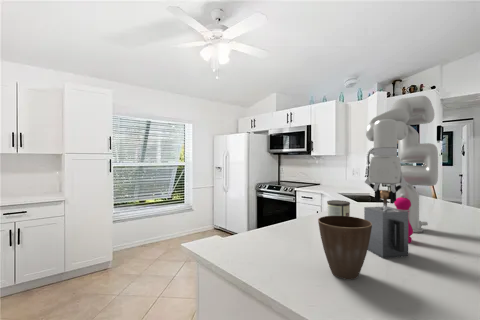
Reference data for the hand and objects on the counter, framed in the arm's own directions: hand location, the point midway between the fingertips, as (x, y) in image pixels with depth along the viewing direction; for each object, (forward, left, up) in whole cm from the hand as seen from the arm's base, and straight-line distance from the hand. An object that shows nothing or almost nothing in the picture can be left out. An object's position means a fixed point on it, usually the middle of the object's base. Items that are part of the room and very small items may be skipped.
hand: (385, 201), depth 92 cm
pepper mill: (-17, -11, -19) cm, 28 cm away
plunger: (0, 0, -13) cm, 13 cm away
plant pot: (+25, +14, -19) cm, 34 cm away
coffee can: (+2, -29, -19) cm, 35 cm away
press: (0, +1, -19) cm, 19 cm away
